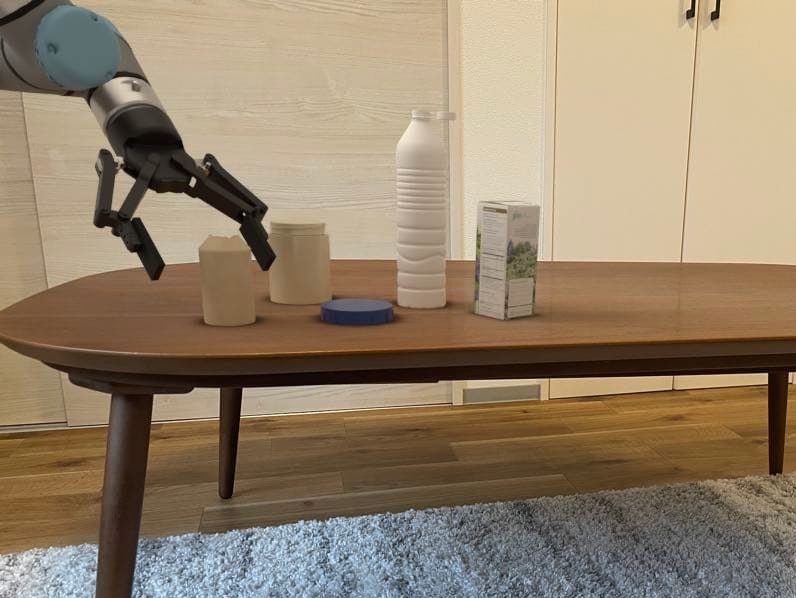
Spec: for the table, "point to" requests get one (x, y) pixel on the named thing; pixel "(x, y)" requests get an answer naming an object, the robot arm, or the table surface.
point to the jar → (300, 262)
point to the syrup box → (506, 259)
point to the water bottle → (421, 213)
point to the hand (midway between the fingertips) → (217, 268)
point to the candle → (227, 281)
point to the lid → (356, 312)
